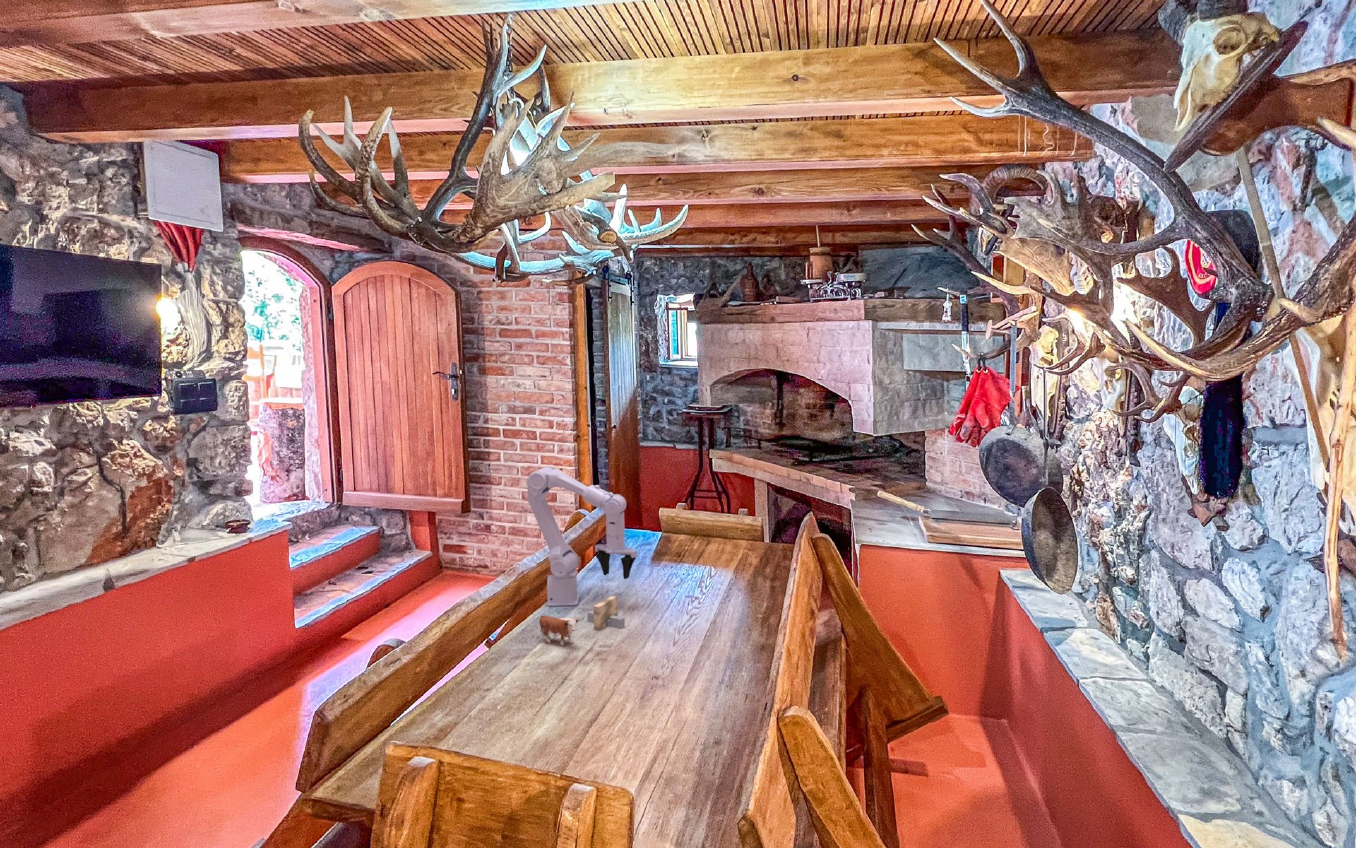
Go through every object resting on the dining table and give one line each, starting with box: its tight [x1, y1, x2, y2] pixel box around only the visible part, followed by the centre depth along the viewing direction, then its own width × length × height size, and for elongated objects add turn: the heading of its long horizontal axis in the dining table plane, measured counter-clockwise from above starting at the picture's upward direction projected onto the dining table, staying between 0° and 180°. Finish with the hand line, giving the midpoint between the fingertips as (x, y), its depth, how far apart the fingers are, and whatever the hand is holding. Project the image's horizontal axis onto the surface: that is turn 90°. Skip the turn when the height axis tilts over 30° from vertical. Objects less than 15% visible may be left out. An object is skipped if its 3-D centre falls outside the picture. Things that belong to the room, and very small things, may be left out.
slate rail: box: [586, 610, 626, 629], centre depth 224 cm, size 12×2×3 cm, turn 62°
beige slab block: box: [593, 595, 619, 631], centre depth 224 cm, size 10×2×7 cm, turn 152°
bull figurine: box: [539, 614, 579, 647], centre depth 211 cm, size 4×13×8 cm, turn 58°
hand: (616, 576), depth 237 cm, fingers open, 7 cm apart
